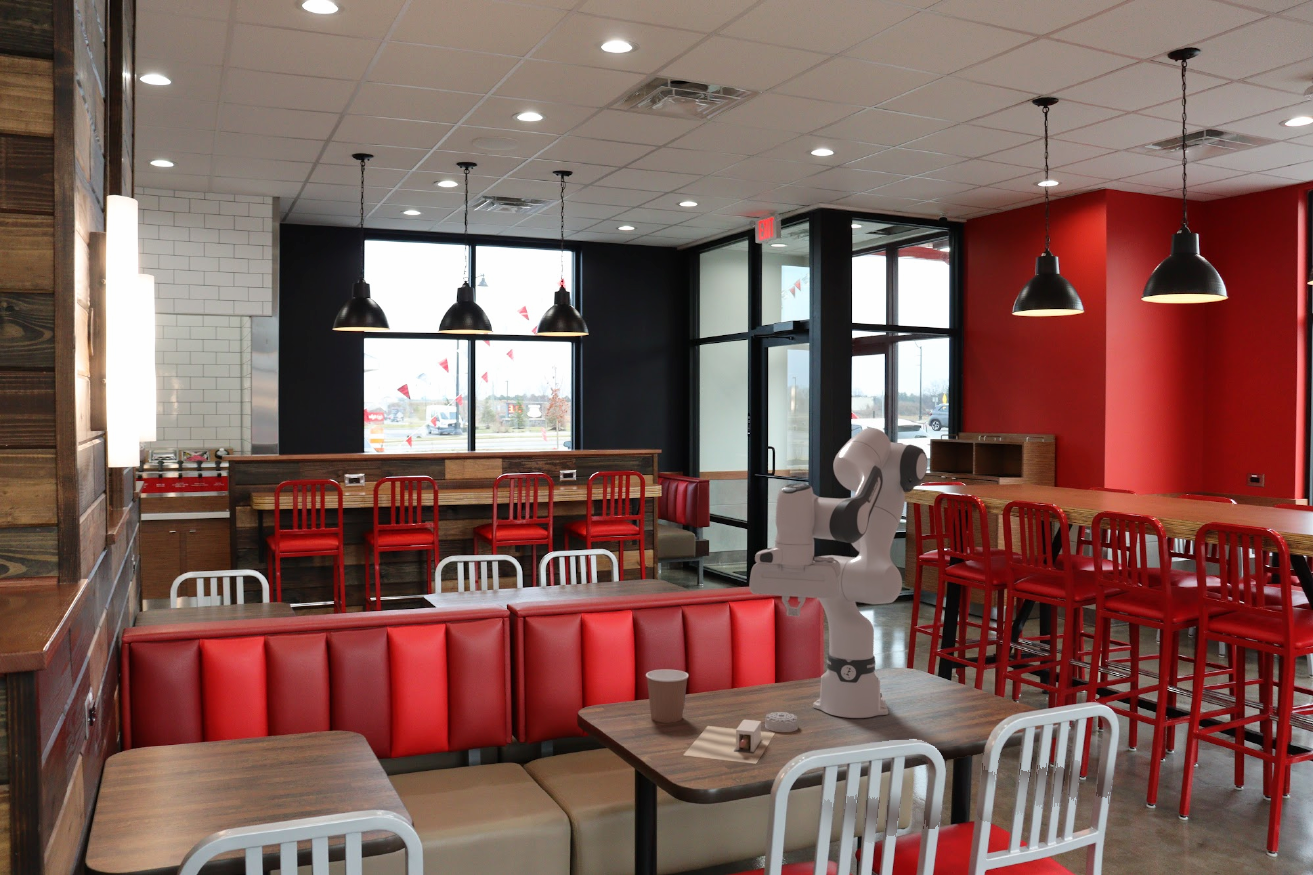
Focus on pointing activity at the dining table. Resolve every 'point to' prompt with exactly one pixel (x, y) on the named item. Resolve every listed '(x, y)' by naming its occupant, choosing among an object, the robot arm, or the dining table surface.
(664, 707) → the coffee cup
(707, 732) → the board
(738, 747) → the box
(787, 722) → the mechanical component
